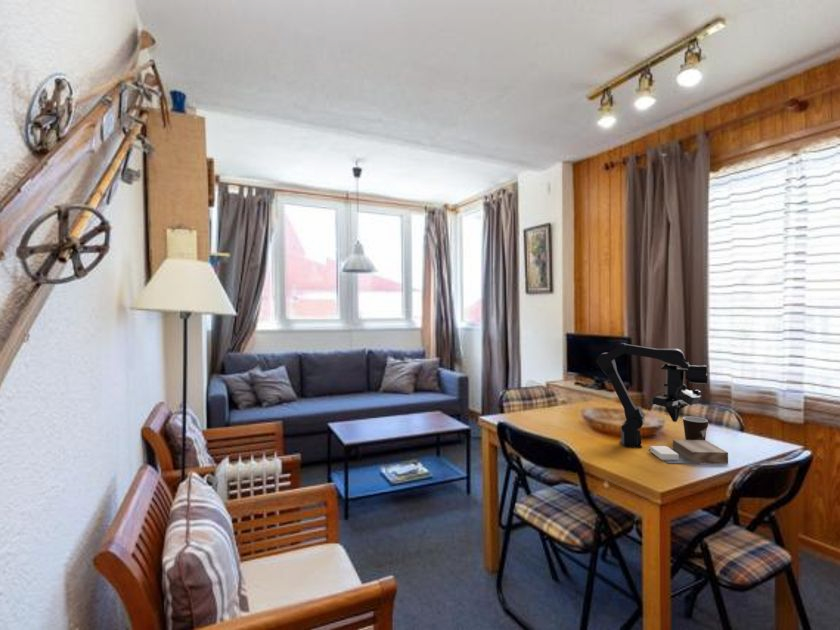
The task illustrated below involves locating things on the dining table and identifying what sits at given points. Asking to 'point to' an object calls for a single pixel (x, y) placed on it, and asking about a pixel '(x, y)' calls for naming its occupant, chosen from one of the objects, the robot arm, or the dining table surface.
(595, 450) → the dining table surface
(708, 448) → the block
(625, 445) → the robot arm
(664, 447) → the ceramic tile
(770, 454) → the dining table surface
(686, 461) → the charcoal mat
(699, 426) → the coffee mug
